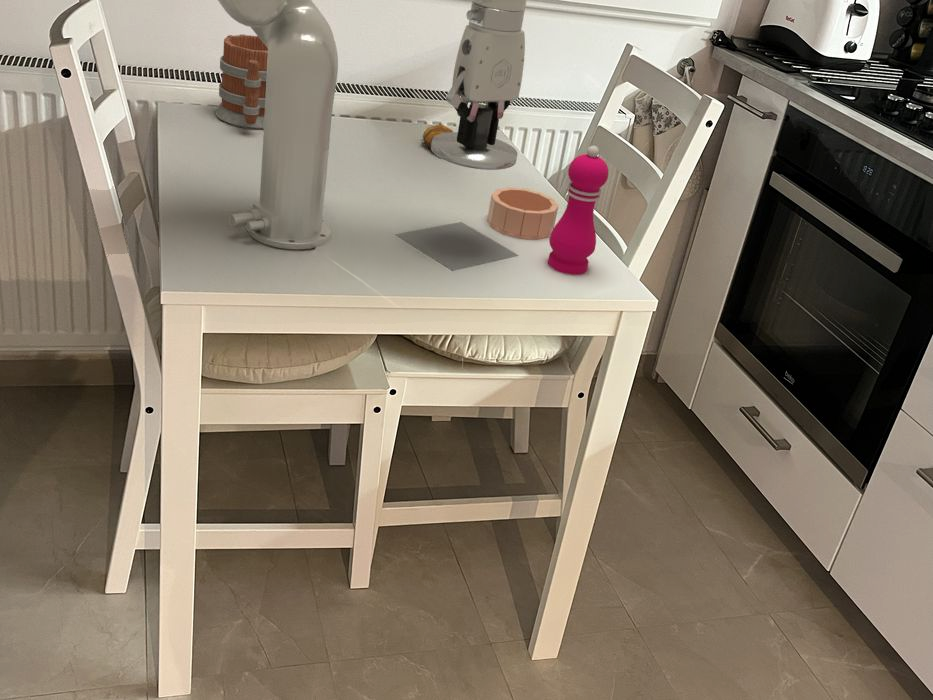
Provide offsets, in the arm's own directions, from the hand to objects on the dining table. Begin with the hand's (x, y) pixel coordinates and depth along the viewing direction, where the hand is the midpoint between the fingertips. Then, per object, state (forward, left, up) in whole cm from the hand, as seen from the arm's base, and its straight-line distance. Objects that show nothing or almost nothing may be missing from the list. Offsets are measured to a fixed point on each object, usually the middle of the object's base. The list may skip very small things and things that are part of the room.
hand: (475, 142), depth 150 cm
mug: (0, +62, -17) cm, 64 cm away
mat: (0, 0, -17) cm, 17 cm away
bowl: (+16, +2, -17) cm, 23 cm away
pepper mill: (+12, -13, -17) cm, 25 cm away
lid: (0, 0, -2) cm, 2 cm away
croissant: (+28, +39, -18) cm, 51 cm away
